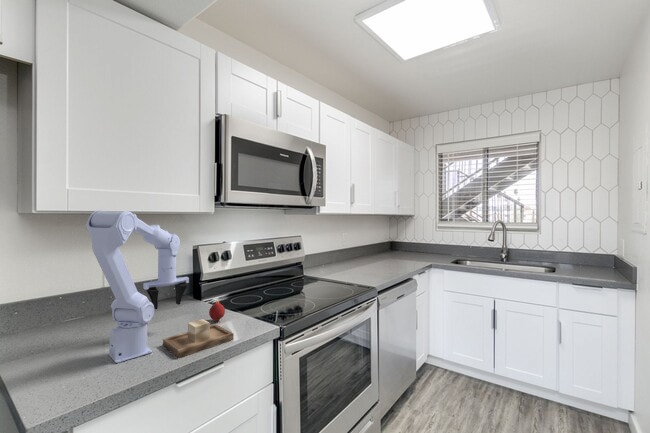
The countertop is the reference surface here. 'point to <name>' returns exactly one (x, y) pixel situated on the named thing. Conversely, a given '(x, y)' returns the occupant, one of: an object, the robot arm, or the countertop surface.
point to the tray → (186, 346)
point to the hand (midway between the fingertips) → (166, 306)
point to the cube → (198, 330)
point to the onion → (217, 311)
